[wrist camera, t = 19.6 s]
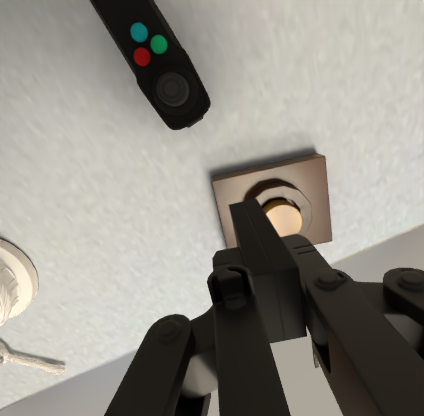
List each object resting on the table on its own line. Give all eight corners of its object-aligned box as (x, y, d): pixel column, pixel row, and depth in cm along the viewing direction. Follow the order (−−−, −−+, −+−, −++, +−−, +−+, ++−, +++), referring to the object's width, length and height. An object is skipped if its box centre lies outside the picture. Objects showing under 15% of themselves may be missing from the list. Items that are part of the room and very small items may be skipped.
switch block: (228, 253, 34) (231, 270, 30) (211, 176, 30) (211, 185, 27) (324, 233, 33) (339, 248, 29) (317, 152, 30) (333, 158, 26)
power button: (262, 238, 29) (265, 245, 28) (256, 203, 28) (259, 209, 26) (298, 230, 29) (304, 237, 27) (294, 195, 28) (300, 200, 26)
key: (-25, 361, 38) (-27, 344, 36) (-19, 355, 39) (-22, 338, 37) (62, 381, 39) (64, 365, 37) (65, 374, 40) (67, 359, 38)
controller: (181, 131, 29) (168, 141, 19) (107, 15, 25) (47, -43, 16) (215, 109, 28) (219, 107, 19) (145, -14, 24) (105, -93, 15)
